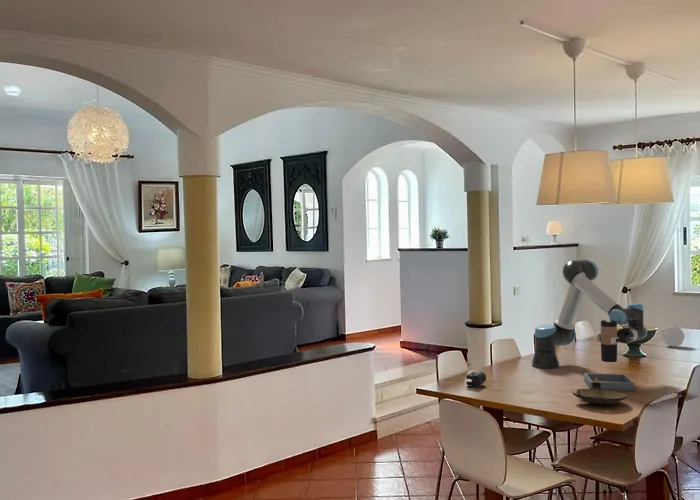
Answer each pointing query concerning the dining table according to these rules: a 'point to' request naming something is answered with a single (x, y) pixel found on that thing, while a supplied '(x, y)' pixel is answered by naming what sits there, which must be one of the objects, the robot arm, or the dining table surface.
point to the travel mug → (608, 341)
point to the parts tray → (610, 381)
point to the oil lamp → (599, 395)
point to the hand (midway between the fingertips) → (603, 340)
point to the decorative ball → (672, 335)
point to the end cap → (475, 379)
